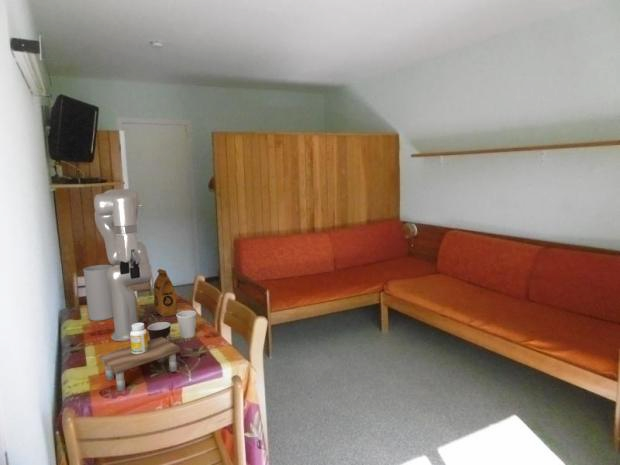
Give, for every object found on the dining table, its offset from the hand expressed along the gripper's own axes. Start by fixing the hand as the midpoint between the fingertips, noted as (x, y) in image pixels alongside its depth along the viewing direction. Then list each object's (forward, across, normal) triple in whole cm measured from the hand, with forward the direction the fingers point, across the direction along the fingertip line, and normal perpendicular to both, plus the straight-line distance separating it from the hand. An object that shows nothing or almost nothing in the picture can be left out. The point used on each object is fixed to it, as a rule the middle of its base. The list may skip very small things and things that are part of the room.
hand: (130, 275), depth 151 cm
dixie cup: (+32, -6, +24) cm, 41 cm away
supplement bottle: (+24, +14, -4) cm, 28 cm away
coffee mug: (+32, -1, +11) cm, 34 cm away
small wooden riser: (+32, +14, -4) cm, 35 cm away
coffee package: (+33, -41, +31) cm, 61 cm away
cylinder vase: (+33, -60, +7) cm, 69 cm away
